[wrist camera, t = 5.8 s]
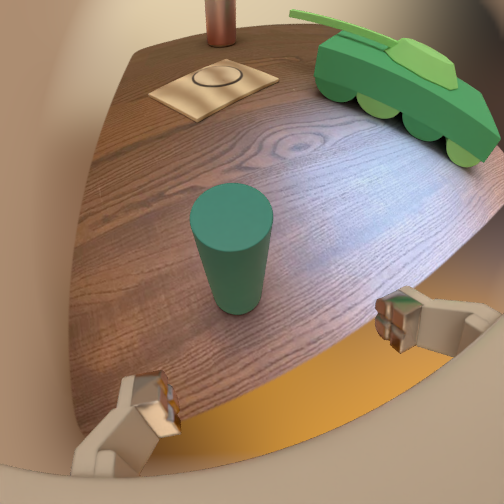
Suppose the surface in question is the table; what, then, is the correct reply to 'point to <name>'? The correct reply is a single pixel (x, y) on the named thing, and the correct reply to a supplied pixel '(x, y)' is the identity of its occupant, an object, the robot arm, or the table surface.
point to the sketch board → (212, 89)
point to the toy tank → (404, 87)
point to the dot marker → (233, 243)
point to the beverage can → (220, 22)
